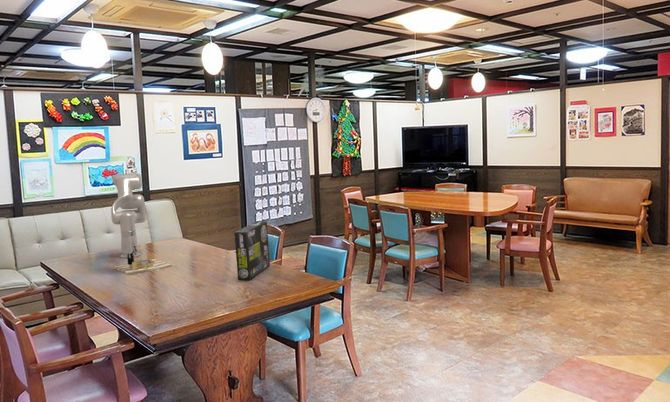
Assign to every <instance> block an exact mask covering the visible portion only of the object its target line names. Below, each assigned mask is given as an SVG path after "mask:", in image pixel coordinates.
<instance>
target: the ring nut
mask: <svg viewBox="0 0 670 402" xmlns="http://www.w3.org/2000/svg"><path fill="white" fill-rule="evenodd" d="M152 259H153V258H149V259H147V260H149V263H147V264H146V263H142V265H140V260H143V259H134V261H133V262H132V265H130V267H131V268H133V270H137V269H139V268H143V267H149V266H152V265H154V264H155V262H154V261H152Z"/></svg>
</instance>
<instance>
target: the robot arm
mask: <svg viewBox="0 0 670 402" xmlns="http://www.w3.org/2000/svg"><path fill="white" fill-rule="evenodd" d="M111 180H112V184H114V186H115V187H116V190H117V199H115V200H114V202H113V203H112V206H111V208H110V214H111V222H112V223H113V225H115V226H116V225H117V226H118V225H119V226H120V235H121V237H120V238H121V239H120V240H121V241H120V249H121V252H122V254H121V255H120V258H121V259H127V264H128V265H132V262H133V261H135V259H134V258H136V257H139V256H141V253H140V252H138V241H137V231H136V227H135V224H143V223H145V222H146V220H147V214H146V204H145V198H144V196H143V195H142V194H137V193H135V194H134V193H133V190H139V189H142V188H143V181H142V180H143V179H142V176H141V174H140V173H136V172H135V173H134V172H133V173H117V174H116V173H115V174H114V175H112V178H111ZM119 208H120V209H121V211H117V210H118V209H119Z"/></svg>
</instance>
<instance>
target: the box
mask: <svg viewBox="0 0 670 402" xmlns="http://www.w3.org/2000/svg"><path fill="white" fill-rule="evenodd" d="M268 233H269V232H268V222H267V221H255V222H253V223H251V224H248V225H246V226H244V227H242V228H240V229H238V230H236V231H234V233H233V234H234V244H235V257H236V258H235V259H236V268H237V271H236V273H237V280H238V281H251V280H253V279H254V278H255V277H256V276H258V275H259V274H260V273H262V272H263V271H265V269H267V268H268V267H270V264H271V263H270V262H271V261H270V249H269V247H270V245H269V234H268Z"/></svg>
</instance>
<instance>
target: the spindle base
mask: <svg viewBox="0 0 670 402" xmlns="http://www.w3.org/2000/svg"><path fill="white" fill-rule="evenodd" d="M151 259H152V261H154V262H155V264H154V265H152V266H149V267H143V268H139V269H137V270H133V268H131V267H130V265H128V263H125V264H120V265H114V266H112V268H113V269H114V270H116V271H119V272H120V273H123V274H125V275H127V276H131V275H136V274H141V273H146V272H151V271H157V270H162V269H168V268H172V266H173V265H172V264H171V263H168V262H164V261H161V260H158V259H156V258H154V259H153V258H151ZM139 260H140V265H142V263H146V264H147V263H149V260H148V259H142V260H141V259H139Z"/></svg>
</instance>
